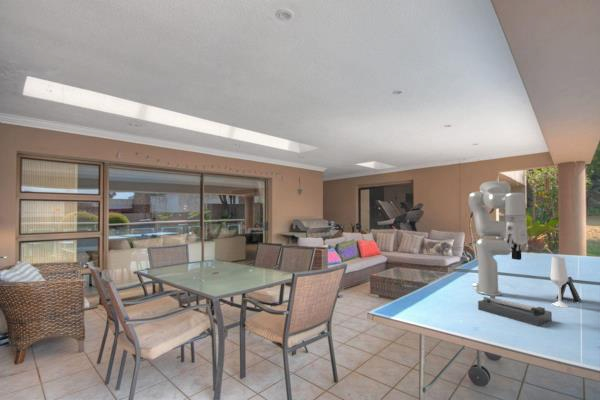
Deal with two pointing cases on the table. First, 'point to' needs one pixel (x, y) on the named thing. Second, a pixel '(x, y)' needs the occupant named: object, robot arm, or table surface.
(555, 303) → the champagne flute
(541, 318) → the block
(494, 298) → the strap
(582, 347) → the table surface
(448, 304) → the table surface
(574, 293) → the phone stand
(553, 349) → the table surface
